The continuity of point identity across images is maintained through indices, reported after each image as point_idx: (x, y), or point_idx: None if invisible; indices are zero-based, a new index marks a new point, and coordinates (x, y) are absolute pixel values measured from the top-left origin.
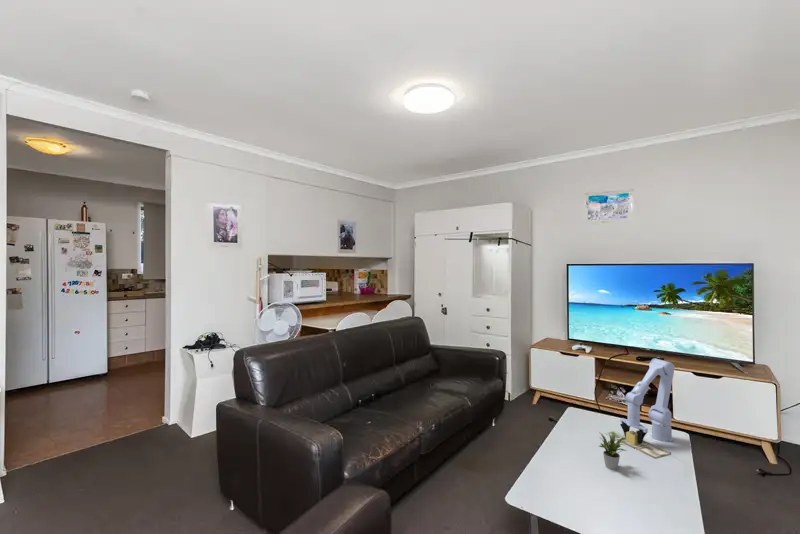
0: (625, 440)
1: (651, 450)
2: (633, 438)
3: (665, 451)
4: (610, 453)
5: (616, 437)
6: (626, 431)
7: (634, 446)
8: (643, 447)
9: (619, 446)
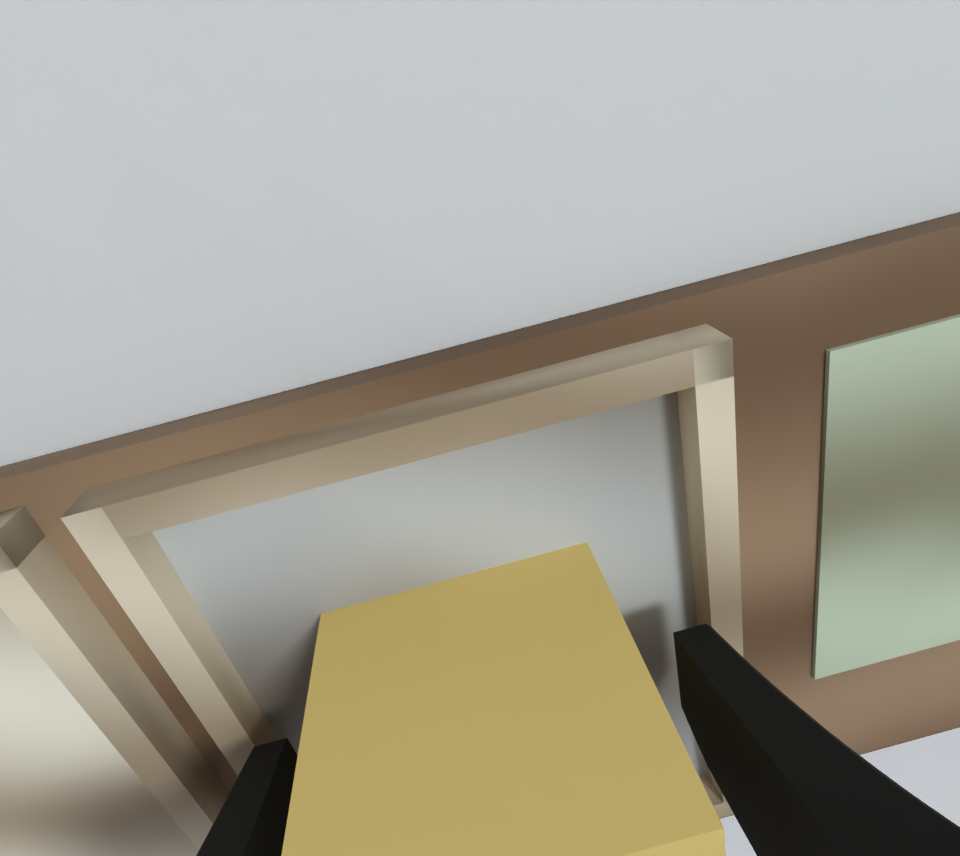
0: (629, 557)
1: (21, 812)
2: (337, 790)
3: None
4: None
5: (861, 434)
6: (803, 850)
7: (131, 557)
8: (122, 740)
9: None
